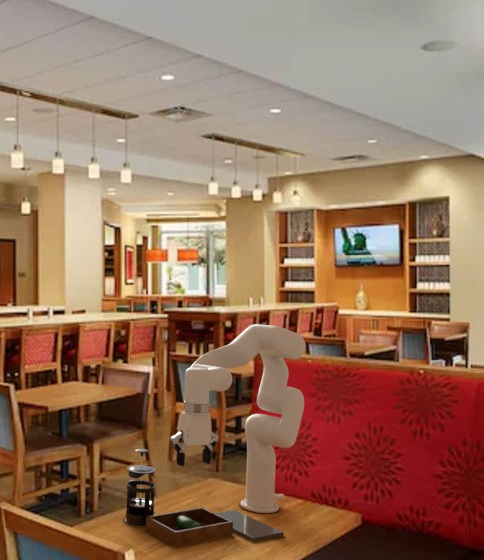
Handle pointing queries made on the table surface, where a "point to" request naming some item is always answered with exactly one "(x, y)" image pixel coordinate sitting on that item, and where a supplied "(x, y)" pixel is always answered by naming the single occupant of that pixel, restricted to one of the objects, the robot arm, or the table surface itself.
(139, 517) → the french press
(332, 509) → the table surface
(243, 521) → the board
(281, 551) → the table surface
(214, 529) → the brown wooden tray
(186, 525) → the cucumber
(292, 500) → the table surface
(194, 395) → the robot arm
